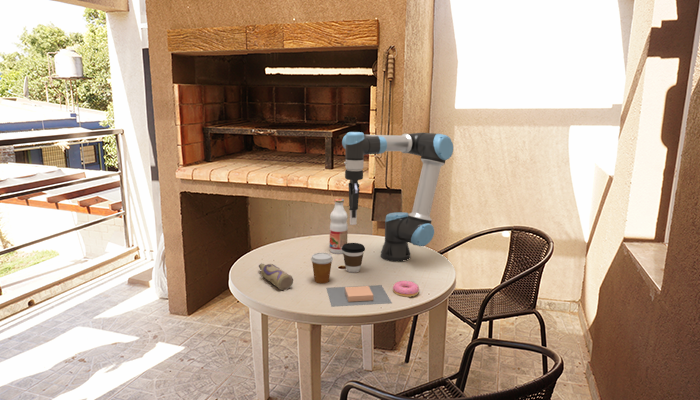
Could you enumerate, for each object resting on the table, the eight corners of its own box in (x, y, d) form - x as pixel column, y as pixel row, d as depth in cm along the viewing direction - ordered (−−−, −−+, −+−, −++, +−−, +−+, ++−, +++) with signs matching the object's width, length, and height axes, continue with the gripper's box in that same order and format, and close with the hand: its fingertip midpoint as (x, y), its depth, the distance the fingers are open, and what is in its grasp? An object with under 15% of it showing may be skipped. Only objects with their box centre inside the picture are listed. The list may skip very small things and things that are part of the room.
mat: (381, 286, 194) (381, 285, 194) (392, 304, 177) (392, 303, 176) (326, 289, 190) (326, 287, 190) (331, 308, 173) (331, 306, 172)
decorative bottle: (294, 288, 190) (294, 273, 189) (278, 292, 186) (277, 277, 185) (268, 269, 211) (268, 255, 209) (253, 272, 207) (252, 259, 205)
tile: (368, 286, 186) (373, 295, 178) (368, 291, 187) (373, 301, 178) (344, 287, 185) (348, 296, 176) (344, 292, 185) (348, 302, 176)
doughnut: (387, 291, 189) (387, 282, 188) (405, 285, 195) (406, 276, 195) (405, 301, 180) (406, 291, 180) (424, 294, 187) (425, 285, 186)
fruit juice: (348, 253, 234) (349, 201, 228) (330, 254, 233) (331, 201, 227) (345, 248, 243) (346, 197, 237) (328, 248, 242) (329, 197, 236)
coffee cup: (336, 270, 211) (336, 245, 209) (352, 264, 219) (352, 240, 217) (353, 276, 204) (354, 251, 202) (369, 270, 212) (370, 246, 209)
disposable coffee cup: (324, 287, 191) (324, 261, 188) (306, 282, 196) (306, 256, 193) (336, 280, 199) (337, 255, 196) (319, 276, 204) (319, 250, 201)
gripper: (342, 167, 193) (342, 220, 198) (347, 172, 180) (346, 228, 185) (360, 167, 194) (358, 220, 199) (366, 172, 181) (364, 228, 186)
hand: (353, 224), depth 192 cm, fingers closed
